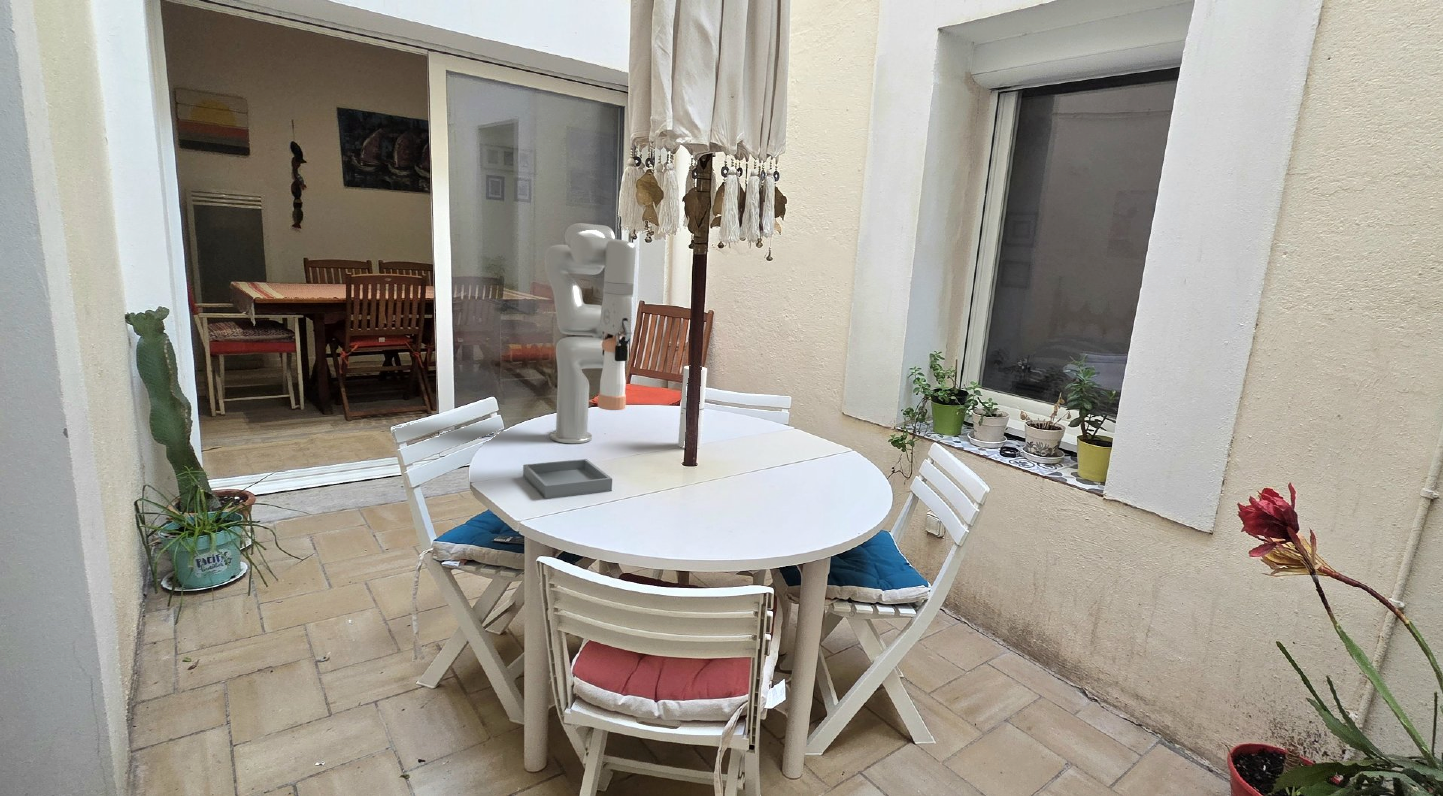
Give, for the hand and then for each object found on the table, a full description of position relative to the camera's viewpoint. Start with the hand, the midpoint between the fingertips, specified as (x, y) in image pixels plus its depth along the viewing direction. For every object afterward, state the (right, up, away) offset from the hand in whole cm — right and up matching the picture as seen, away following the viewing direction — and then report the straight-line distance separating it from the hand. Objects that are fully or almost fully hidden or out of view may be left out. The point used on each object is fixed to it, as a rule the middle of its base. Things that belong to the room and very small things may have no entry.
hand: (614, 357), depth 183 cm
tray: (-11, -32, -6) cm, 35 cm away
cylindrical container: (+18, -26, +37) cm, 49 cm away
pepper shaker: (-1, -13, +3) cm, 14 cm away
